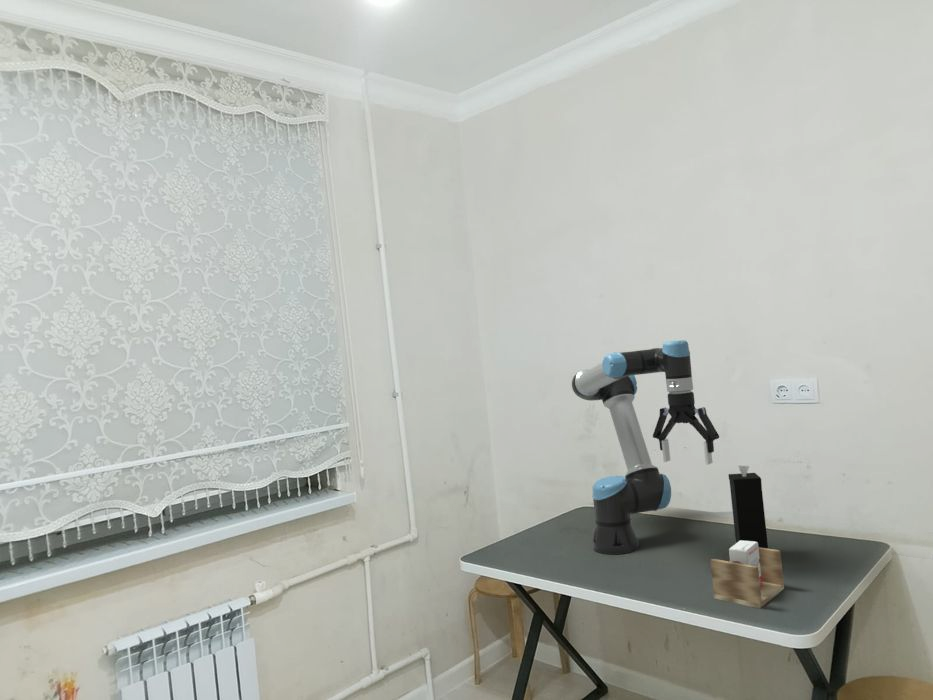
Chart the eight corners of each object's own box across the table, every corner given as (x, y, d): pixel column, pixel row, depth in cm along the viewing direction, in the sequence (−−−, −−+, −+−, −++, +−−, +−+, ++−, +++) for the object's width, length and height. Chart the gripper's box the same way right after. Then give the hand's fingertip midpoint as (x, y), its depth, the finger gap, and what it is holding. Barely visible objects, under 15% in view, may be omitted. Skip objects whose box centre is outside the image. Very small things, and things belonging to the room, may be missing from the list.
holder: (714, 598, 170) (710, 560, 170) (739, 579, 181) (736, 543, 181) (760, 608, 161) (756, 568, 161) (784, 588, 172) (780, 550, 172)
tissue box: (769, 559, 194) (759, 467, 194) (741, 560, 195) (732, 468, 195) (763, 551, 201) (753, 462, 201) (736, 552, 203) (727, 463, 203)
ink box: (744, 581, 176) (739, 538, 176) (763, 584, 173) (758, 541, 173) (732, 592, 170) (727, 548, 170) (751, 596, 166) (747, 550, 166)
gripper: (637, 394, 200) (644, 462, 200) (714, 392, 182) (722, 467, 182) (650, 391, 205) (657, 457, 205) (726, 389, 187) (733, 462, 187)
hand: (687, 462), depth 193 cm, fingers open, 13 cm apart
